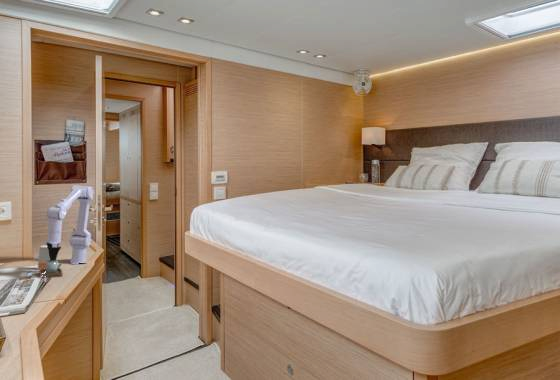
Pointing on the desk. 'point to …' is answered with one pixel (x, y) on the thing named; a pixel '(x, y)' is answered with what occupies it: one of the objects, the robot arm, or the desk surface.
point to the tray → (58, 274)
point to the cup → (51, 266)
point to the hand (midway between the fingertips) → (52, 258)
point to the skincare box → (43, 257)
